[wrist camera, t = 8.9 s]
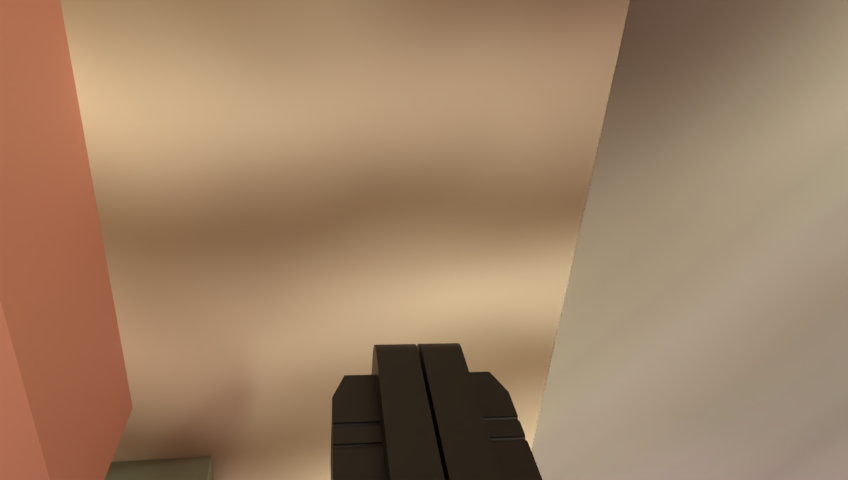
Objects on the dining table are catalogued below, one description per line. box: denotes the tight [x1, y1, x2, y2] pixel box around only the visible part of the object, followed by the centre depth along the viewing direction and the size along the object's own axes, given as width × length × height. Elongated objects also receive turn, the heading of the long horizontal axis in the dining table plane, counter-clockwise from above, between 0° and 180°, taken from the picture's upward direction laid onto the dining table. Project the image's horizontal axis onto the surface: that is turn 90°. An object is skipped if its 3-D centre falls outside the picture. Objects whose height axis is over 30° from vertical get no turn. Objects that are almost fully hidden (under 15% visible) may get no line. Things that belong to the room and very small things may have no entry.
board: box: [60, 0, 630, 480], centre depth 15 cm, size 24×28×2 cm
